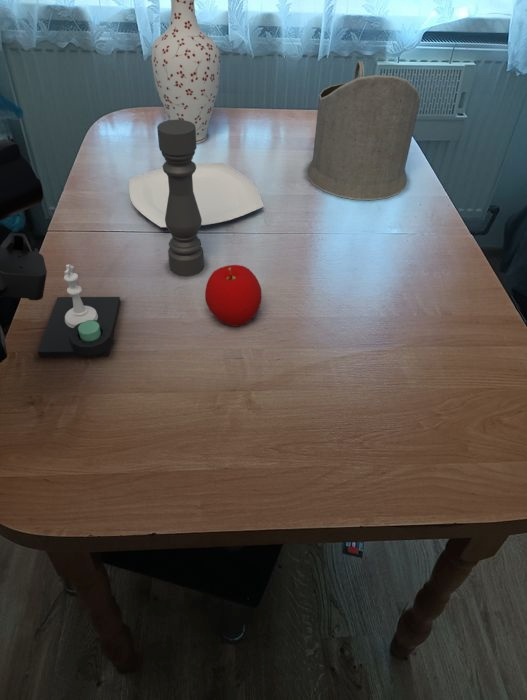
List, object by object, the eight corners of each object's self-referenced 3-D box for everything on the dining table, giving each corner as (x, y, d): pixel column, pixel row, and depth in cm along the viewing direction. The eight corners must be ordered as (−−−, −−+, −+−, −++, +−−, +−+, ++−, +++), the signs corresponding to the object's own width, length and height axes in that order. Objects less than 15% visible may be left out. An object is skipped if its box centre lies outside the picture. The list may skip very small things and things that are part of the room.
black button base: (110, 361, 79) (107, 346, 77) (38, 362, 79) (32, 347, 77) (123, 302, 89) (120, 287, 87) (58, 302, 89) (54, 287, 87)
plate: (228, 164, 129) (228, 156, 127) (279, 218, 111) (280, 209, 110) (116, 183, 120) (115, 174, 118) (152, 244, 102) (151, 235, 101)
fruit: (198, 305, 89) (195, 254, 83) (248, 293, 92) (249, 243, 86) (217, 340, 83) (216, 288, 77) (270, 326, 86) (273, 275, 79)
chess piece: (103, 312, 85) (92, 259, 78) (86, 332, 82) (73, 278, 75) (76, 305, 86) (63, 252, 80) (58, 324, 83) (42, 270, 76)
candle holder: (196, 253, 101) (188, 116, 83) (209, 271, 97) (203, 131, 79) (164, 261, 98) (149, 122, 81) (176, 279, 94) (163, 137, 77)
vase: (221, 126, 146) (219, -31, 122) (221, 151, 134) (218, -18, 110) (161, 124, 145) (146, -34, 121) (155, 150, 133) (138, -20, 109)
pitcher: (310, 198, 118) (323, 75, 101) (302, 139, 141) (311, 31, 124) (415, 201, 118) (446, 80, 101) (390, 143, 141) (412, 35, 124)
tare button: (99, 341, 78) (97, 333, 77) (78, 341, 78) (76, 334, 77) (102, 328, 81) (100, 320, 80) (82, 328, 80) (80, 320, 79)
